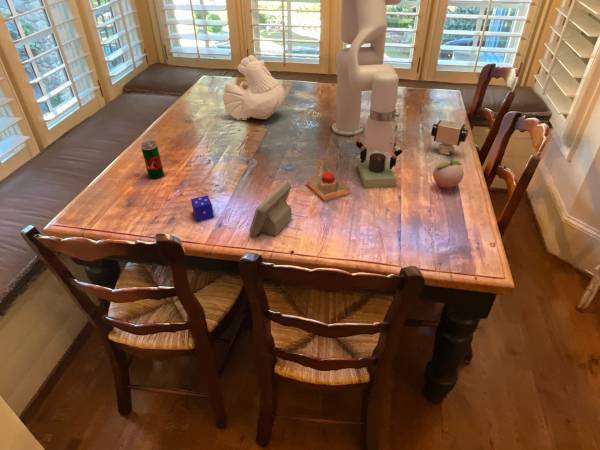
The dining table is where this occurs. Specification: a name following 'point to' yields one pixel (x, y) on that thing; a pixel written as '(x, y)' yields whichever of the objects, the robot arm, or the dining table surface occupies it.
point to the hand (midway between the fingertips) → (377, 164)
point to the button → (328, 177)
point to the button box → (328, 187)
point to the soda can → (152, 159)
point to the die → (202, 208)
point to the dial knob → (377, 162)
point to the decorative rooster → (253, 92)
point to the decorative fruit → (448, 174)
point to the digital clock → (272, 212)
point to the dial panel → (376, 175)
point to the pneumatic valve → (448, 135)
